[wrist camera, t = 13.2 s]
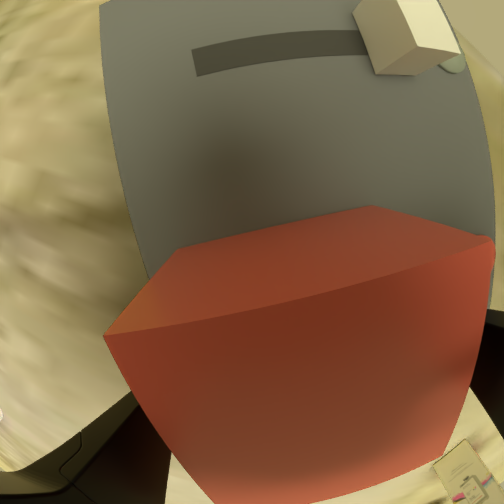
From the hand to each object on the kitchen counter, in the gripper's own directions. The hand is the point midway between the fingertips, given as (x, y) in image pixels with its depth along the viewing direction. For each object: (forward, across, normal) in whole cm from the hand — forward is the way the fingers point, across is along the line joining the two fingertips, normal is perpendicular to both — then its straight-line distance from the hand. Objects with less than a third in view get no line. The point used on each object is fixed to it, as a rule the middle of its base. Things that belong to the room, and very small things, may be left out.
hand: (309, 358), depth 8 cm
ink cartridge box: (+6, -17, +28) cm, 33 cm away
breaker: (+3, -6, -10) cm, 12 cm away
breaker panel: (+5, -3, -5) cm, 8 cm away
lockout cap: (+3, 0, 0) cm, 3 cm away
